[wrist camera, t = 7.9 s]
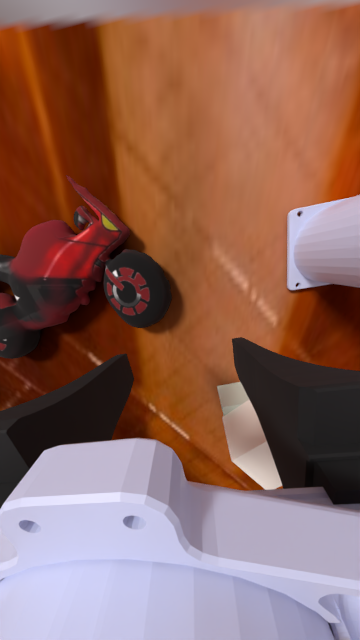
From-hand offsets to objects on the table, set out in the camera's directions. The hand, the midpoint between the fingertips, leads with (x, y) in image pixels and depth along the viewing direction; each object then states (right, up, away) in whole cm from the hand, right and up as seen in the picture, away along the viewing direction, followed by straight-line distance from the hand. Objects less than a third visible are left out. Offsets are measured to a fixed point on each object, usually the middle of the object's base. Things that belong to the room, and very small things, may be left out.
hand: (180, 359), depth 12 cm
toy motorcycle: (-14, +8, +10) cm, 19 cm away
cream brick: (+9, -10, +10) cm, 17 cm away
